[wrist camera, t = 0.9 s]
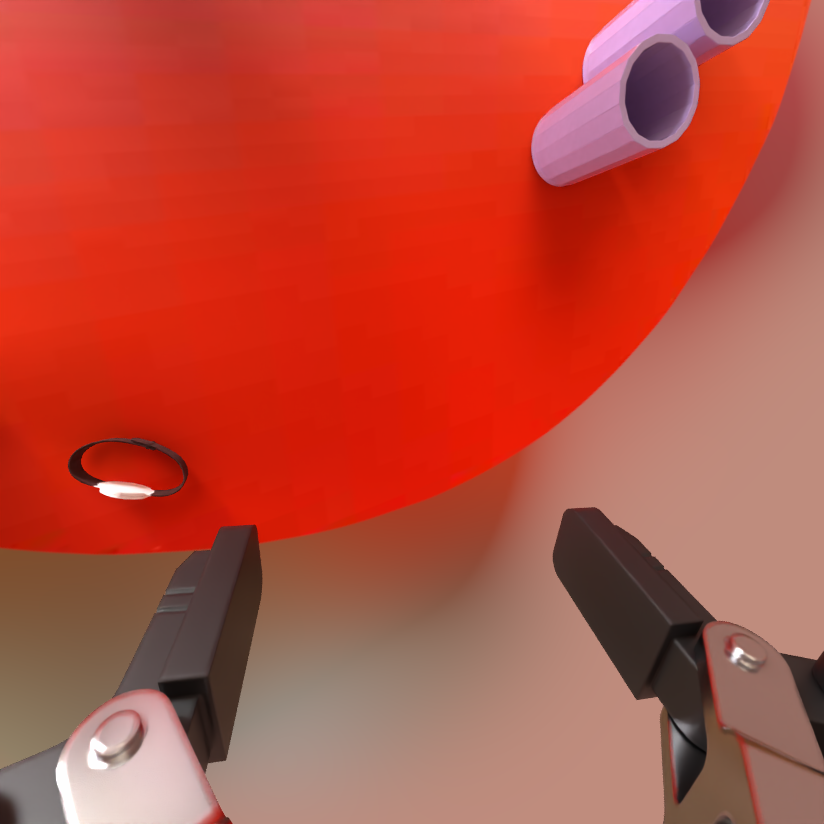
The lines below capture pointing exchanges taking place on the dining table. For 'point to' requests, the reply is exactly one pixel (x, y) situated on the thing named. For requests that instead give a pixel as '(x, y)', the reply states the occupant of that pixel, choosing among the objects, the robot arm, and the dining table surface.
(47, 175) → the dining table surface
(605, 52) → the middle cup
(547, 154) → the end cup
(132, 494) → the watch
